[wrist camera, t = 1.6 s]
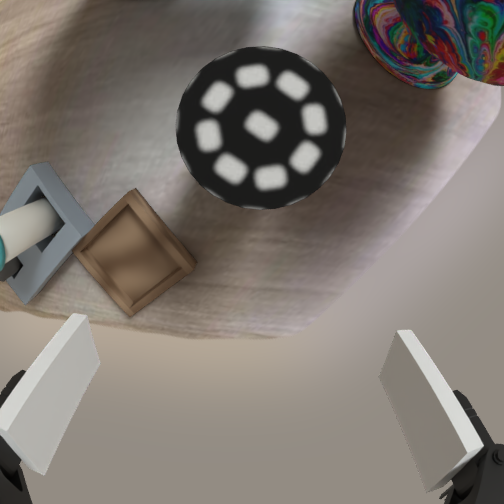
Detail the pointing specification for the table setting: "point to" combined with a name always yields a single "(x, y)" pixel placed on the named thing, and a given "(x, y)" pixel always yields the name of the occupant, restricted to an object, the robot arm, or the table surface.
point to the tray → (133, 254)
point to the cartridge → (27, 228)
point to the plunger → (10, 268)
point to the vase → (435, 39)
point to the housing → (49, 249)
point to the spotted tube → (261, 128)
